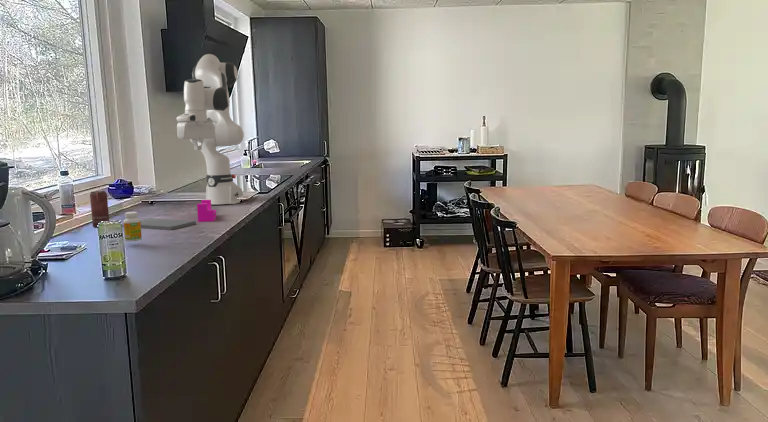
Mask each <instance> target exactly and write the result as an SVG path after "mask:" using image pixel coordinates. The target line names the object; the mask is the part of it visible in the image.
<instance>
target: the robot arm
mask: <svg viewBox="0 0 768 422" xmlns="http://www.w3.org/2000/svg"><path fill="white" fill-rule="evenodd" d="M238 73H239V72H238V68H237V67H236V65H235V64H234V62H229V61H226V62H220V60H219V58H218V57H217V56H216V55H215V54H212V53H207V54H206V53H205V54H204V55H202V56H201V58H199V60H198V62H197V63H196V65H194V67H193V68H192V73H191V75H192V78H191V79H190V78H189V79H186V80H184V84H183V103H184V105H185V107H184V113H183V114H180V115H178V116H177V117H176V121H177V124H176V131H177V132H176V135H177V138H178V139H179V140H182V141H183V140H184V141H185V140H189V141H190V142H191V144H192V145H193V149H194V151H198V150H199V151H200V152H201V154H202V155H203V157H204V160H205V165H206V175H205V176H206V177H205V179H206V183H207V184H206V187H205V200H211V205H231V204H233V205H235V204H239V203H241V202H240V201H241V200H237V198H239V197H241V196H243V197H244V195H243V189H242V188H241V186H239V185H238V184H237V183H235V181H234V179H236V178H237V175H236V174H231V163H230V159H229V157H228V156H227V155H226V154H224V153H221V152H220V151H218V150H217V147H234V146H237V145H240V144H241V143H242V142H243V140H244V131H243V128H242V127H241V126H240V125H239V124H237V123H236V122H234V120H232V118H231V115H230V103H231V102H230V93H229V90H228V88H229V89H231V88H233V86H234V84H235V83H236V82H237V80H238V75H239V74H238Z"/></svg>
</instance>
